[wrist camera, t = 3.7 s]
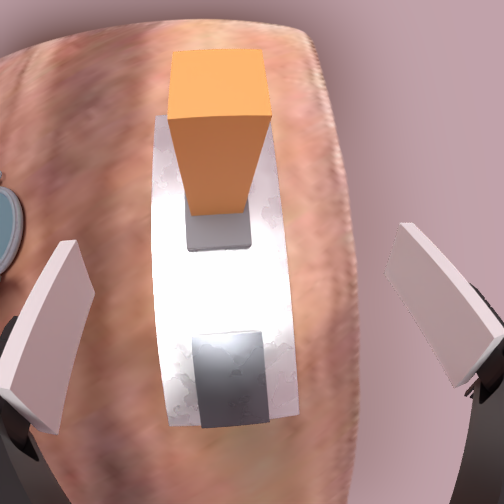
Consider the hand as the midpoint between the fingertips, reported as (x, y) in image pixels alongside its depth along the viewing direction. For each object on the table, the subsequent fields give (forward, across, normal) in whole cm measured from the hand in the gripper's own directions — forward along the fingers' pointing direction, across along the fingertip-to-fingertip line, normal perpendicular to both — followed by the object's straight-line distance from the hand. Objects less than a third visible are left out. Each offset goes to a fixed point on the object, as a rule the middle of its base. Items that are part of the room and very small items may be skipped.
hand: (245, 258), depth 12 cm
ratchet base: (+12, -1, -9) cm, 15 cm away
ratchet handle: (+18, -1, 0) cm, 18 cm away
